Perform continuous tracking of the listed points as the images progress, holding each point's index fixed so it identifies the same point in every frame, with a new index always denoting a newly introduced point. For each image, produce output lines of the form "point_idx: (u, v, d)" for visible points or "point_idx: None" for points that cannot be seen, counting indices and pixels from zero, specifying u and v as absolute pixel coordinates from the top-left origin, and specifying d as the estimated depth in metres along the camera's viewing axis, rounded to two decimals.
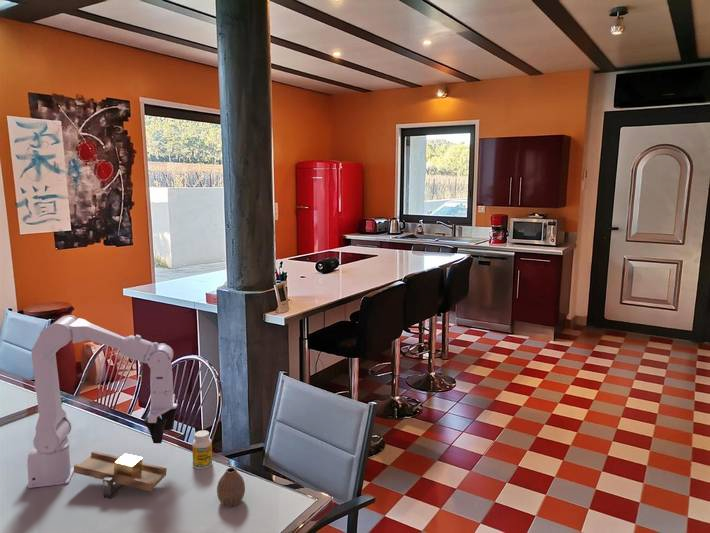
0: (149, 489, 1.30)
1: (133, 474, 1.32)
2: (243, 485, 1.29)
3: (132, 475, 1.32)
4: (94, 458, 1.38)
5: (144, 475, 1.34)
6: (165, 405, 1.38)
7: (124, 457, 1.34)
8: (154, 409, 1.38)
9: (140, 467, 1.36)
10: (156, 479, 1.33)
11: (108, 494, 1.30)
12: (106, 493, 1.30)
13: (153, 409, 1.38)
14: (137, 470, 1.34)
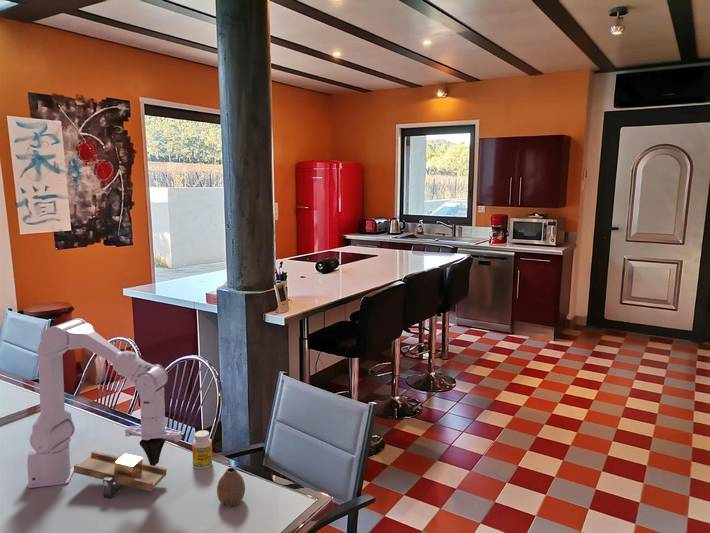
0: (149, 489, 1.30)
1: (133, 474, 1.32)
2: (243, 485, 1.29)
3: (132, 475, 1.32)
4: (94, 458, 1.38)
5: (144, 475, 1.34)
6: (141, 429, 1.30)
7: (124, 457, 1.34)
8: None
9: (140, 467, 1.36)
10: (156, 479, 1.33)
11: (108, 494, 1.30)
12: (106, 493, 1.30)
13: None
14: (137, 470, 1.34)
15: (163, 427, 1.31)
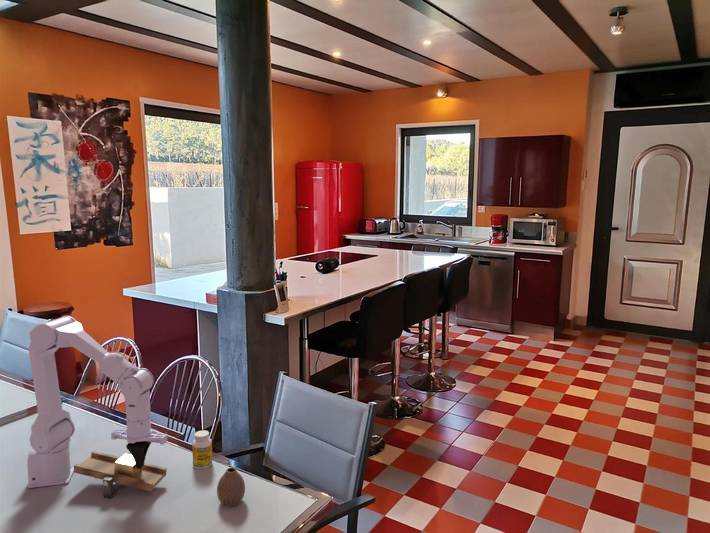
0: (149, 489, 1.30)
1: (133, 474, 1.32)
2: (243, 485, 1.29)
3: (133, 475, 1.32)
4: (94, 458, 1.38)
5: (144, 475, 1.34)
6: (127, 433, 1.31)
7: (124, 457, 1.34)
8: None
9: None
10: (156, 479, 1.33)
11: (108, 494, 1.30)
12: (106, 493, 1.30)
13: None
14: (137, 470, 1.34)
15: (149, 430, 1.32)
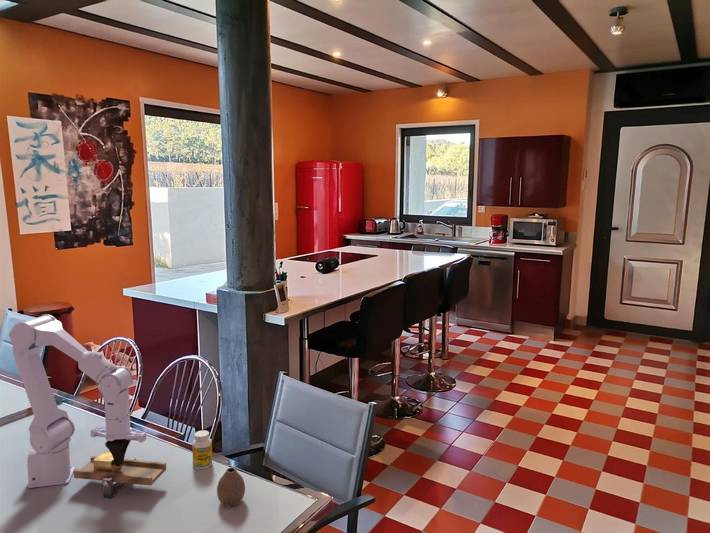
0: (149, 483, 1.29)
1: (113, 469, 1.33)
2: (243, 485, 1.29)
3: (112, 471, 1.33)
4: None
5: (144, 472, 1.34)
6: (106, 430, 1.32)
7: (103, 455, 1.35)
8: None
9: None
10: (156, 474, 1.33)
11: (108, 494, 1.30)
12: (106, 493, 1.30)
13: None
14: (117, 466, 1.35)
15: (128, 428, 1.33)
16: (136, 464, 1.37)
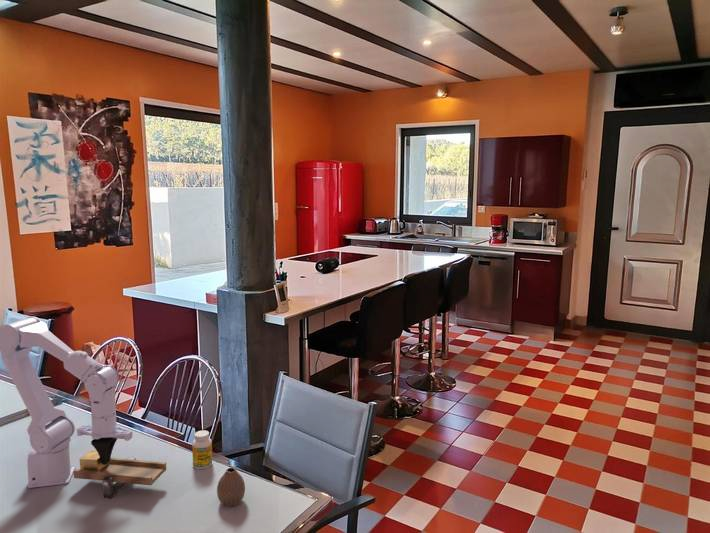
0: (149, 483, 1.29)
1: (99, 467, 1.34)
2: (243, 485, 1.29)
3: (99, 469, 1.33)
4: None
5: (144, 471, 1.34)
6: (92, 429, 1.32)
7: (89, 453, 1.36)
8: None
9: None
10: (156, 474, 1.33)
11: (108, 494, 1.30)
12: (106, 493, 1.30)
13: None
14: None
15: (114, 426, 1.33)
16: (136, 464, 1.37)
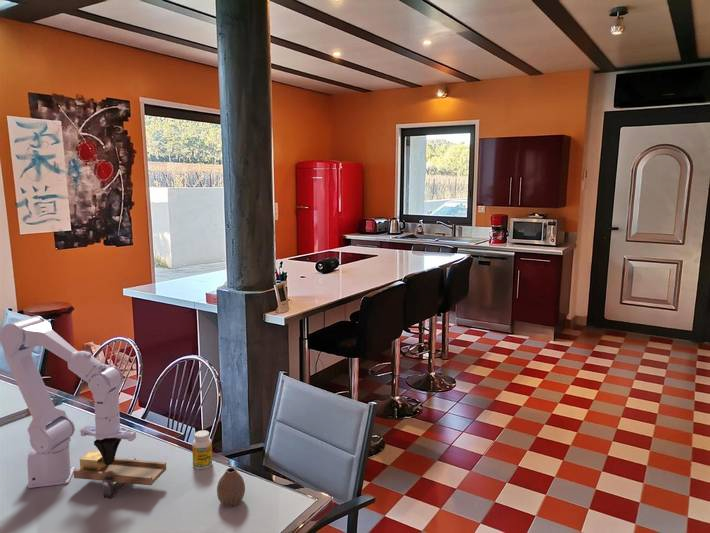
0: (149, 483, 1.29)
1: (99, 468, 1.34)
2: (243, 485, 1.29)
3: (99, 470, 1.33)
4: None
5: (144, 471, 1.34)
6: (95, 429, 1.32)
7: (90, 454, 1.36)
8: None
9: None
10: (156, 474, 1.33)
11: (108, 494, 1.30)
12: (106, 493, 1.30)
13: None
14: (104, 465, 1.36)
15: (117, 427, 1.33)
16: (136, 464, 1.37)
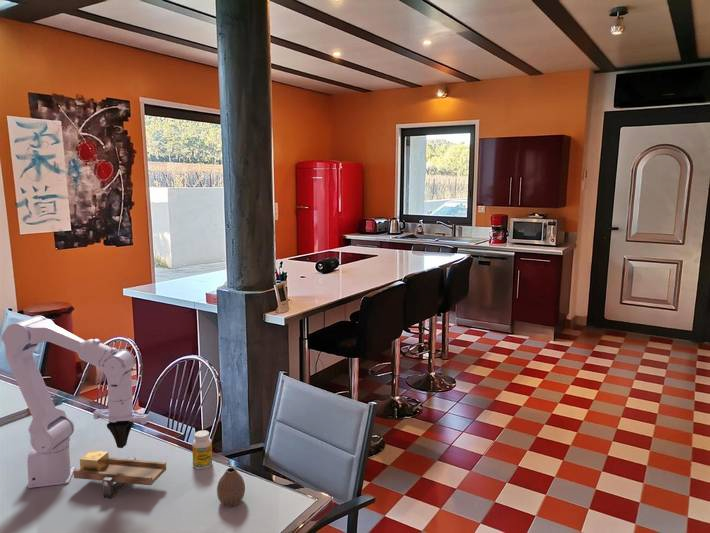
0: (149, 483, 1.29)
1: (99, 468, 1.34)
2: (243, 485, 1.29)
3: (99, 470, 1.33)
4: None
5: (144, 471, 1.34)
6: (108, 412, 1.33)
7: (90, 454, 1.36)
8: None
9: (107, 462, 1.37)
10: (156, 474, 1.33)
11: (108, 494, 1.30)
12: (106, 493, 1.30)
13: None
14: (104, 465, 1.36)
15: (130, 410, 1.34)
16: (136, 464, 1.37)
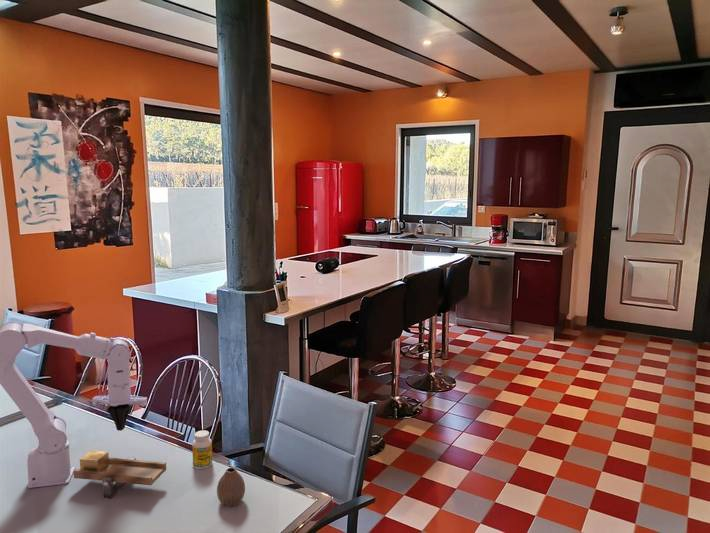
0: (149, 483, 1.29)
1: (99, 468, 1.34)
2: (243, 485, 1.29)
3: (99, 470, 1.33)
4: None
5: (144, 471, 1.34)
6: (108, 397, 1.42)
7: (90, 454, 1.36)
8: None
9: (107, 462, 1.37)
10: (156, 474, 1.33)
11: (108, 494, 1.30)
12: (106, 493, 1.30)
13: None
14: (104, 465, 1.36)
15: (129, 394, 1.43)
16: (136, 464, 1.37)
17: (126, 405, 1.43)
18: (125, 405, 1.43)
